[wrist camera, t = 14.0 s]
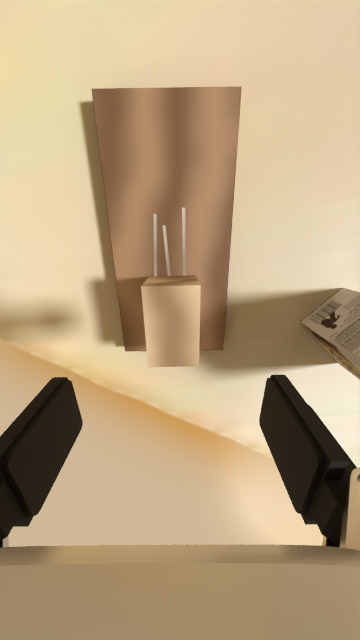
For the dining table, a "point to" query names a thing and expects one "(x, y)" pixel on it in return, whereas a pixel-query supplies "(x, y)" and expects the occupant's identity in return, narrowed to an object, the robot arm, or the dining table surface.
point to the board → (169, 194)
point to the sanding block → (172, 320)
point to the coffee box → (338, 328)
